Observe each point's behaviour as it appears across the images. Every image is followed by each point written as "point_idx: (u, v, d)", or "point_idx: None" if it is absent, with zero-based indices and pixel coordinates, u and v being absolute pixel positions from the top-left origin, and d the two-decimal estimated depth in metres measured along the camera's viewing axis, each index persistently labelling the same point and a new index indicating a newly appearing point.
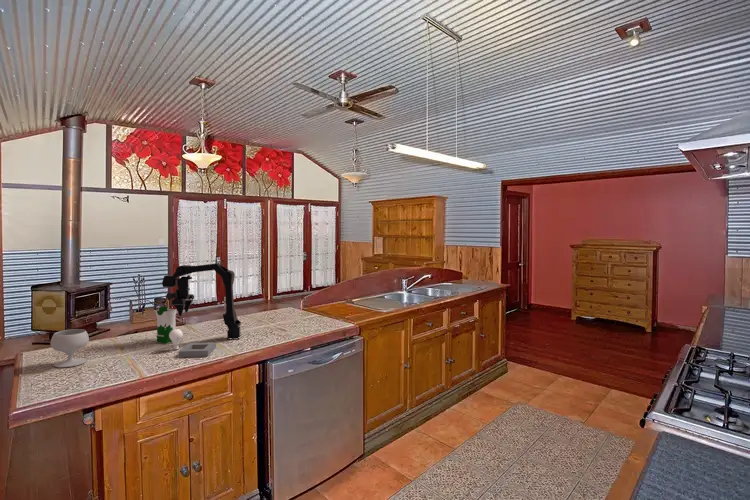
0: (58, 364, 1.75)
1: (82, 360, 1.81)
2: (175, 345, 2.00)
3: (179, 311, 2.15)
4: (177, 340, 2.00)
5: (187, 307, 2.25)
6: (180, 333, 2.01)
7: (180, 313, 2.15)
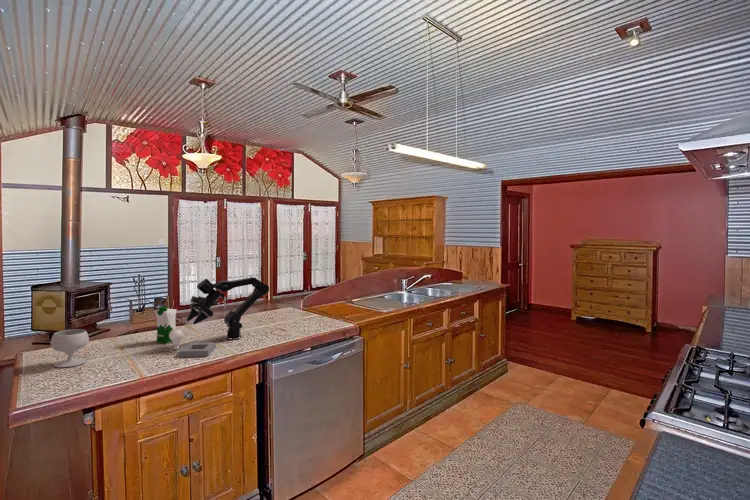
0: (58, 364, 1.75)
1: (82, 360, 1.81)
2: (175, 345, 2.00)
3: (198, 319, 2.04)
4: (177, 340, 2.00)
5: (192, 317, 2.11)
6: (180, 333, 2.01)
7: (196, 322, 2.04)
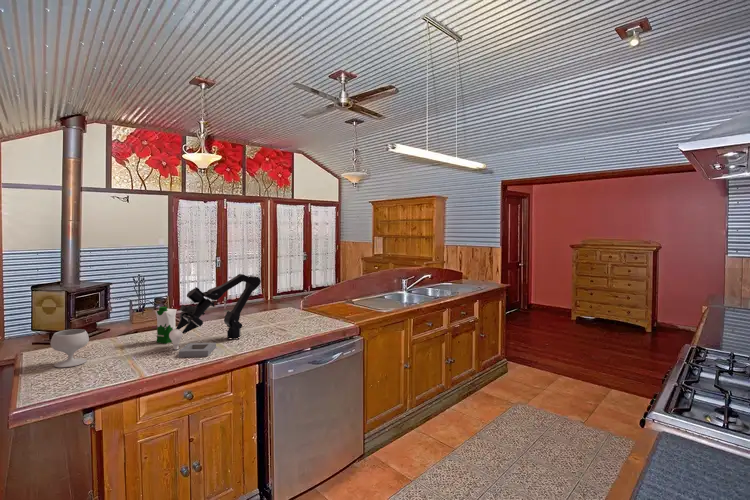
0: (58, 364, 1.75)
1: (82, 360, 1.81)
2: (175, 345, 2.00)
3: (187, 329, 2.00)
4: (177, 340, 2.00)
5: (181, 326, 2.08)
6: (180, 333, 2.01)
7: (185, 331, 2.00)
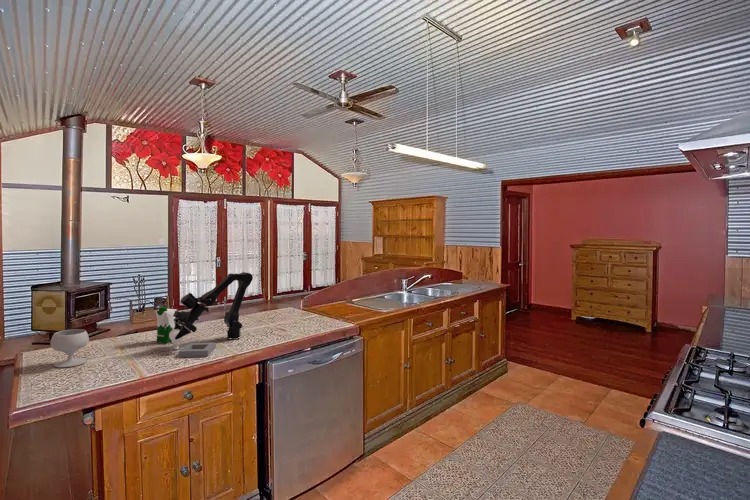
0: (58, 364, 1.75)
1: (82, 360, 1.81)
2: (175, 345, 2.00)
3: (179, 335, 1.99)
4: (177, 340, 2.00)
5: None
6: None
7: (178, 337, 1.99)
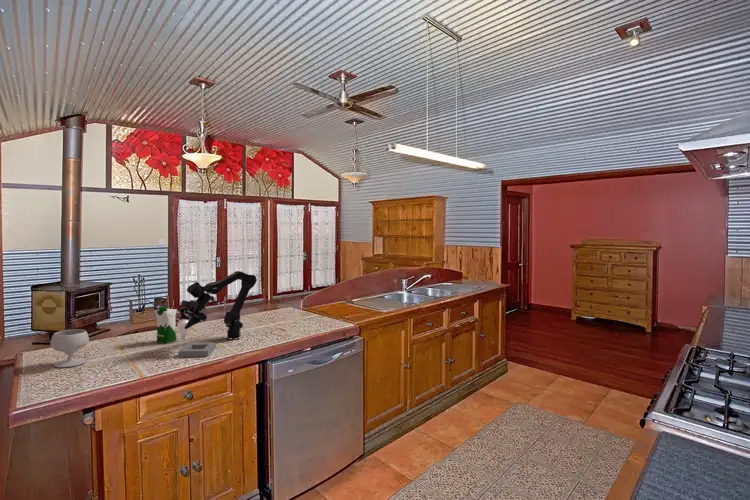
0: (58, 364, 1.75)
1: (82, 360, 1.81)
2: (184, 335, 1.98)
3: (189, 324, 1.97)
4: (186, 330, 1.98)
5: None
6: None
7: (188, 326, 1.96)
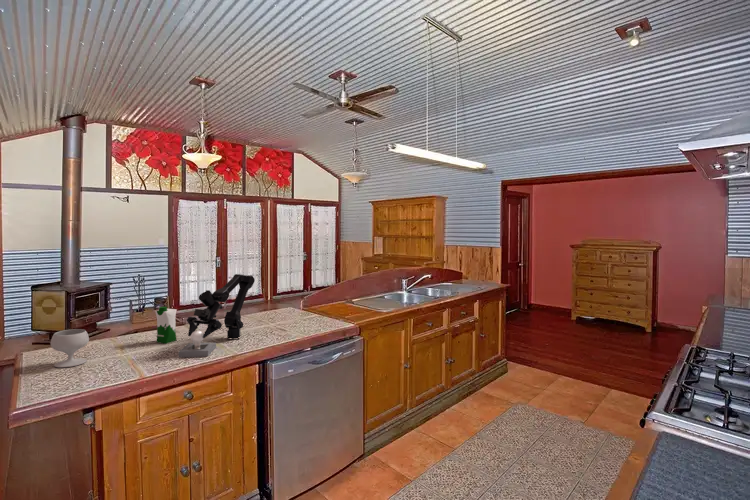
0: (58, 364, 1.75)
1: (82, 360, 1.81)
2: (198, 347, 1.96)
3: (207, 333, 1.96)
4: (200, 341, 1.97)
5: (192, 331, 1.99)
6: (203, 334, 1.98)
7: (206, 335, 1.95)
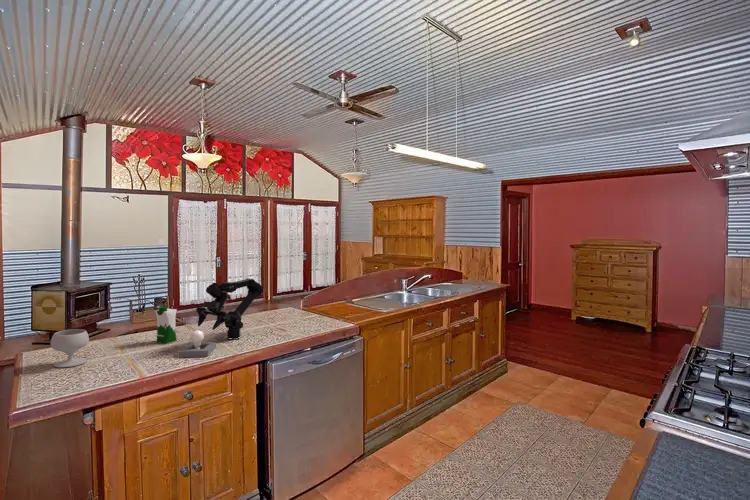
0: (58, 364, 1.75)
1: (82, 360, 1.81)
2: (198, 347, 1.96)
3: (216, 325, 2.05)
4: (200, 341, 1.97)
5: (201, 321, 2.08)
6: (203, 334, 1.98)
7: (215, 327, 2.04)
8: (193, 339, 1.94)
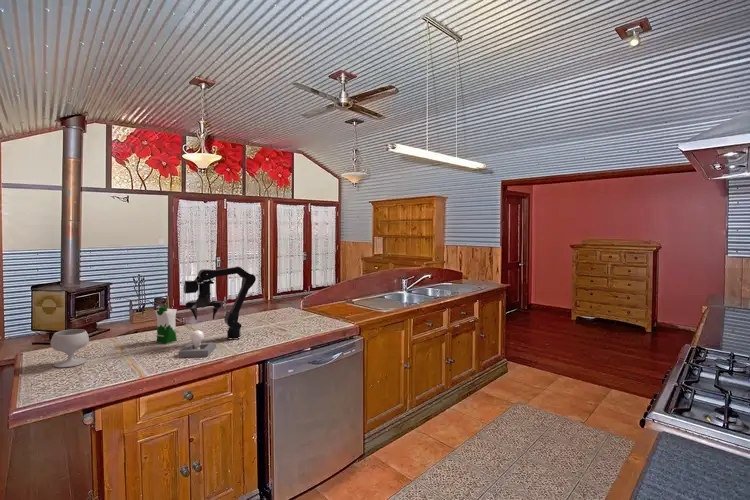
0: (58, 364, 1.75)
1: (82, 360, 1.81)
2: (198, 347, 1.96)
3: (215, 314, 2.15)
4: (200, 341, 1.97)
5: (196, 314, 2.14)
6: (203, 334, 1.98)
7: (214, 316, 2.15)
8: (193, 339, 1.94)
